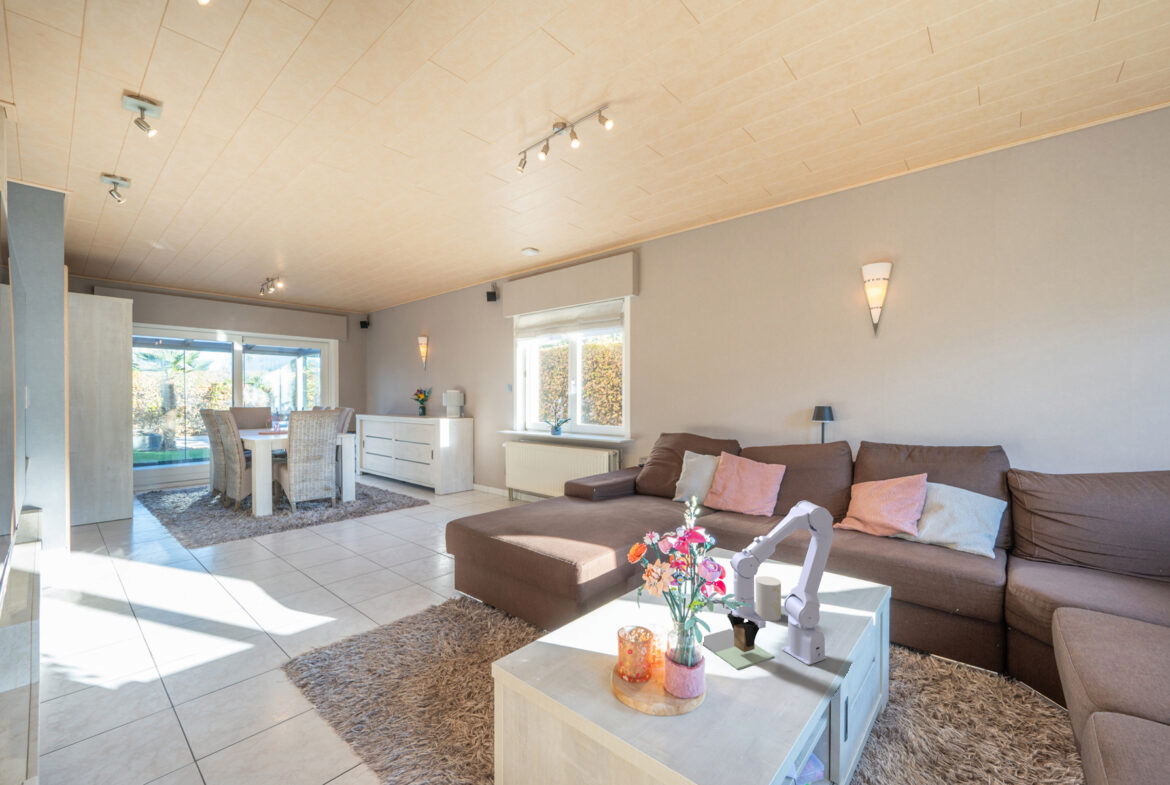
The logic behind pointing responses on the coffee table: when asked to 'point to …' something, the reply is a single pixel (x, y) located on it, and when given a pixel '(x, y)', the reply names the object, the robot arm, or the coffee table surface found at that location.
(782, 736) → the coffee table surface
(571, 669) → the coffee table surface
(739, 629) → the block
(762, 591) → the beige cylinder
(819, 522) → the robot arm
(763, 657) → the board
